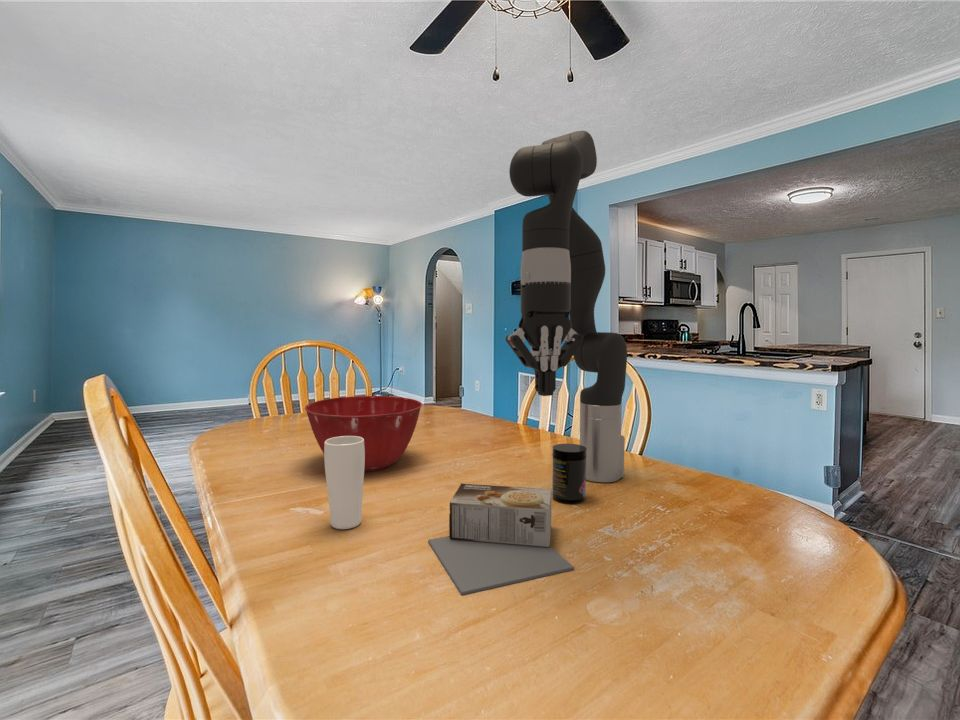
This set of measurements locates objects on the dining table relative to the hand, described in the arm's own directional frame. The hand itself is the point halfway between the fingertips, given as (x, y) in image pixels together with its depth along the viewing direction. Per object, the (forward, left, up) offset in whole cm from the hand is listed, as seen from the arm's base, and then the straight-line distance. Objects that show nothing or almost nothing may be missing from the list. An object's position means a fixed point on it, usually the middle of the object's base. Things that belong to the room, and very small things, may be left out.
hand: (545, 395), depth 72 cm
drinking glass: (+28, -20, -24) cm, 42 cm away
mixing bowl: (+20, -56, -24) cm, 64 cm away
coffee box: (-3, -2, -21) cm, 21 cm away
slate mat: (+8, 0, -24) cm, 25 cm away
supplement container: (-15, -16, -24) cm, 33 cm away
